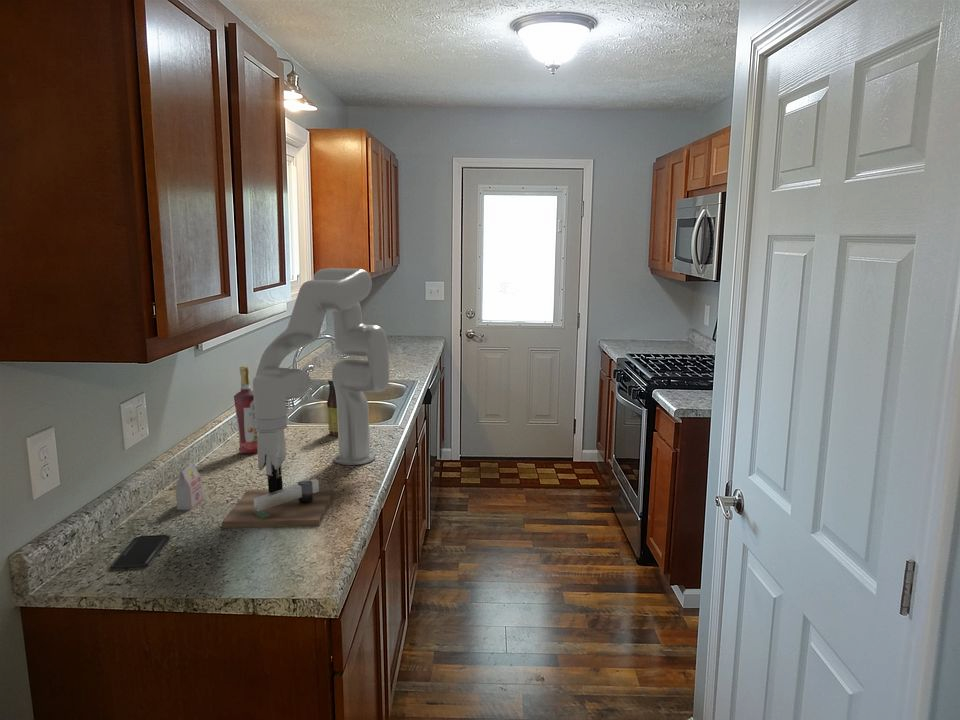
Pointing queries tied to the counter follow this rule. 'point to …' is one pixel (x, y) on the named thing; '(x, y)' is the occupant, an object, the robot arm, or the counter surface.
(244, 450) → the liquor
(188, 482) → the pink white carton
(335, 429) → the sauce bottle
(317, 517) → the dial board
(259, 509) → the dial pointer
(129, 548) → the phone
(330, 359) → the counter surface
